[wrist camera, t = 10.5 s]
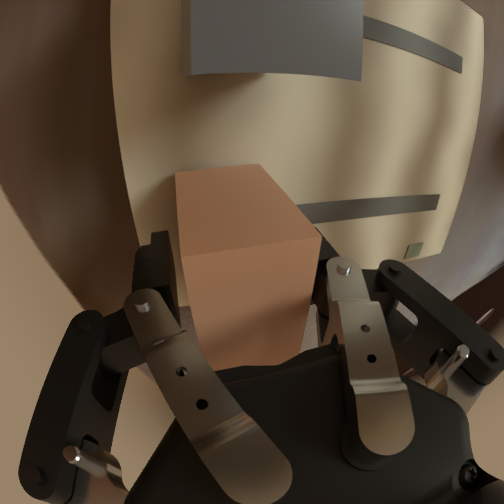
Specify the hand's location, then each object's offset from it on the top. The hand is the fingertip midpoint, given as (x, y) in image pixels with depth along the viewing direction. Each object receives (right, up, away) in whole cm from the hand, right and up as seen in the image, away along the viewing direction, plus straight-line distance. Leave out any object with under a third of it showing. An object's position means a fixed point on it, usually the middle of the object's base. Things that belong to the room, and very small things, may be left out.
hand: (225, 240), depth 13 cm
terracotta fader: (0, +1, +1) cm, 1 cm away
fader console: (+6, +7, +1) cm, 9 cm away
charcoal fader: (0, +9, -5) cm, 10 cm away
